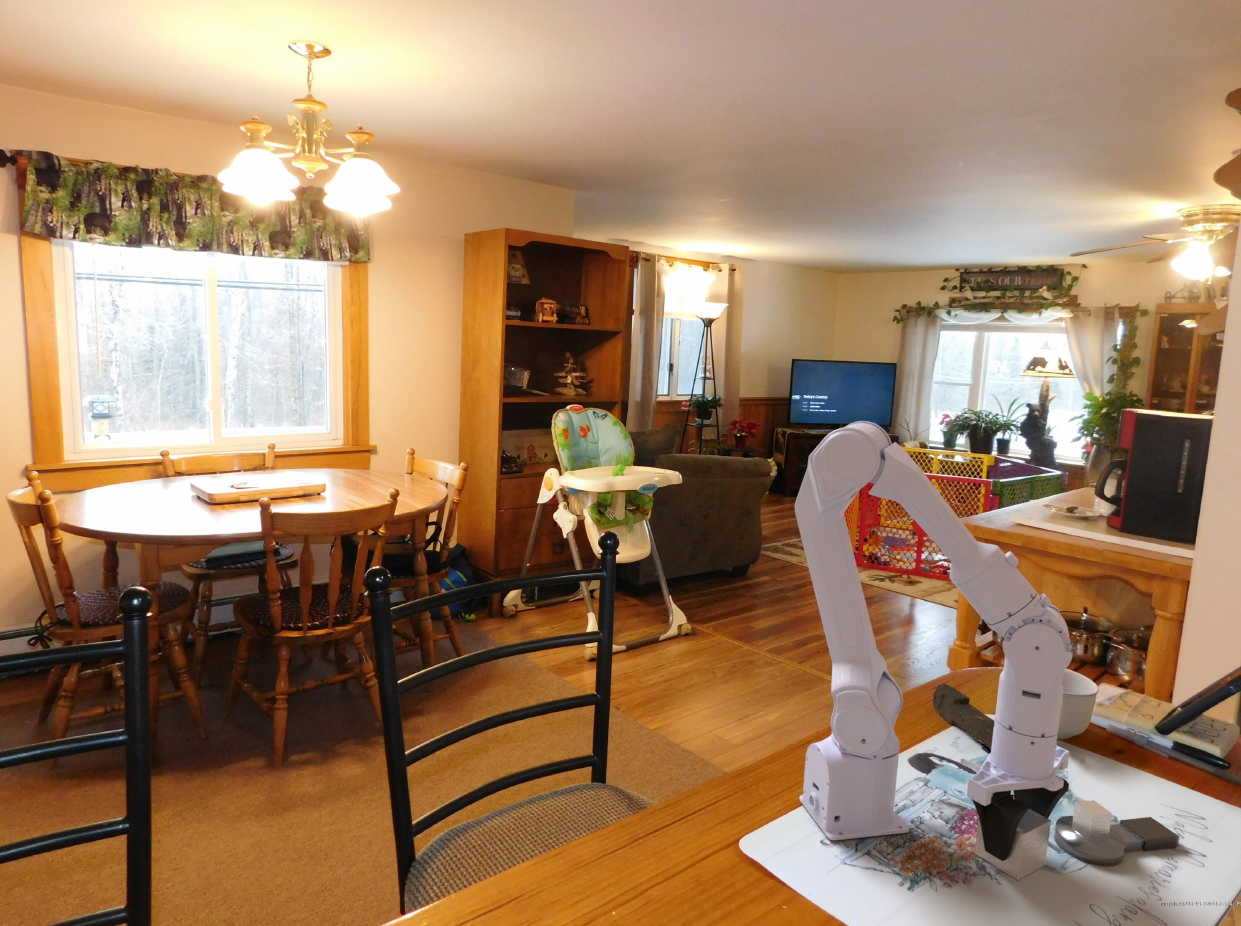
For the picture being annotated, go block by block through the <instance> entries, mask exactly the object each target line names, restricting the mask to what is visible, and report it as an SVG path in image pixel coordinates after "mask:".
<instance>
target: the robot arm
mask: <svg viewBox="0 0 1241 926" xmlns="http://www.w3.org/2000/svg"><path fill="white" fill-rule="evenodd" d="M869 483H871V484H873V486H872V488H871V489H870V490H869V491H868V495H871V496H873V497H877V498H881V499H885V500H888V501H894V502H895V503H896V502H897V503H898V504H899V505H901V507H902V508H903V509H904V510H905V511H906V512H907V514H908V515H909V516H910V517H911V518H912V520H914V521H915V522H916V524H917V525H919V527H920V528H921V529H922V530H923V531H924V532H925V534H926V535H928V537H929V538H930V539H931V540H932V541H933V542H934V544H935V545H936V546H937V547H938V548H939V549H940V550H941V551H942V552H943V554H944V555H945V556H946V557H947V559H949V560H950V563H951V564H950V570H949V580H951V582H952V583H953V584H954V586H955V587H956V589H958V591H959V592H960V594H962V595H963V597H964V598H965V600H966V601H967V602H968V603H969V604H970V605H971V607H973V609H974V610H975V611H976V612H977V614H978V615H979V616H980V617H981V619H982V620H983V621H984V623H985V624H986V625H987V626H988V627H989V628H990V630H992V631H994V632H996V633H998V634H999V635H1000V636H1001V637H1003V639H1004V640H1003V641H1002V651H1003V654H1004V664H1003V670H1002V671H1001V673H1000V675H999V678H998V681H999V682H998V688H997V698H996V706H995V707H996V708H995V714H994V715H995V716H994V721H995V722H994V730H993V738H992V747H991V749H990V753H989V754H988V755H987V757H986V758H985V760H984V762H983V763H982V764H981V766H980V768H979V769H978V771H977V773H975V774H974V775H973V776H970V777H969V778H968V782H967V791H966V792H967V793H966V797H968V798H969V799H971V801H972V802H973V803H972V804H973V805H974V808H975V810H976V813H977V816H978V819H979V820H980V825H981V830H982V836H983V842H984V847H985V851H986V852H988V853H989V854H991V855H993V856H994V857H996V858H998V859H999V860H1001V861H1004V860H1006V859H1007V857H1008V856H1009V853H1010V851H1011V847H1012V843H1013V839H1014V835H1015V832H1016V829H1017V827H1018V825H1019V823H1020V821H1021V819H1022V817H1023V816H1024V814H1025V813H1026V812H1027V811H1028V810H1029V809H1031V810H1032V811H1034V812H1036V813H1038V814H1040V815H1042V816H1044V817H1046V818H1047V819H1049V817H1050V815H1051V814H1052V812H1053V810H1054V809H1055V807H1056V805H1057V804H1058V802H1060V800H1061V799H1062V798H1063V797H1064V796H1065V794H1067V793H1068V791H1069V789H1070V782H1068V781H1067V780H1066V779H1064V778H1062V777H1061V776H1058V773H1059V772H1060V771H1064V770H1066V769H1068V766H1069V761H1070V760H1069V758H1070V751H1069V750H1068V749H1065V748H1063V747H1061V746H1059V745H1057V742H1058V739H1057V735H1058V729H1059V721H1060V714H1061V706H1062V698H1063V686H1062V681H1063V679H1064V674H1065V669H1068V666H1070V663H1071V662H1072V659H1073V655H1074V654H1073V652H1072V651H1071V650H1072V645H1071V639H1070V632H1069V628H1068V625H1067V622H1066V620H1065V619H1064V617H1063V616H1062V614H1061V610H1060V609H1059V608H1058V607H1057V606H1055V605H1054V604H1052V601H1051V599H1050V597H1048V596H1047V595H1046V594H1045V593H1042V594H1039V592H1037V590H1036V589H1035V588H1034V587H1033V586H1032V584H1031V583H1030V582H1029V581H1028V579H1026V577H1025V576H1024V575H1023V574H1022V573H1021V571H1020V570H1019V569H1018V568H1017V566H1019V559H1018V558H1017V557H1016V556H1015V553H1013V552H1012V551H1008V552H1006V553H1005V552H1004V551H1003V550H1002V549H1001V548H1000V546H999V545H997V544H991V543H986V542H982V541H978V540H976V537H974V535H973V534H972V533H971V531H970V530H969V529H968V527H967V526H966V525H965V524H964V523H963V521H962V520H961V519H960V517H959V516H958V514H956V512H955V510H953V508H952V507H951V506H950V505H949V503H948V502H947V501H946V500H945V498H944V497H943V496H942V494H941V493H940V492H939V490H938V489H937V488H936V487H935V485H934V484H933V483H932V482H931V480H930V479H929V477H927V475H926V474H925V473H924V471H923V470H922V468H921V467H920V466H919V465H918V464H917V463H916V462H915V460H914V459H913V458H912V457H911V456H910V455H909V453H908V452H907V451H906V450H905V449H904V448H903V447H902V446H901V445H900V444H899V443H897V442H896V441H894V442H893V443H892V441H891V438H890V435H889V434H888V433H887V431H886V430H885V429H884V428H882V427H881V426H880V425H878V424H877V423H875V422H871V421H866V420H859V421H855V422H851V423H849V424H847V425H846V426H844V427H840V428H838V429H835V430H832V431H831V432H829V433H828V434H827V435H826V436H824V438H822V440H821V441H820V443H819V444H818V445H816V447H815V448H814V449H813V451H812V452H811V453H810V454H809V455H808V461H807V468H806V471H805V474H804V477H803V479H802V482H801V485H800V488H799V491H798V494H797V496H796V500H795V503H794V514H795V518H796V521H797V525H798V530H799V534H800V538H801V542H802V547H803V550H804V553H805V558H806V562H807V566H808V570H809V574H810V579H811V582H812V587H813V591H814V595H815V597H816V602H817V603H816V604H817V607H818V611H819V615H820V619H821V622H822V627H823V632H824V634H825V638H826V644H827V647H828V651H829V655H830V658H831V663H832V664H831V665H832V666H831V685H830V686H831V687H830V688H831V691H830V693H831V696H832V701H833V711H832V714H831V717H830V728H831V734H830V735H829V736H828V737H826V738H824V739H823V740H820V741H817V742H813V743H811V744H809V745H808V747H807V749H806V752H805V762H804V775H803V786H802V788H803V789H802V794H801V795H800V796H799V801H800V803H801V804H802V805H803V807H804V808H805V809H806V810H807V812H808V814H809V815H810V816H811V817H812V819H813V820H814V821H815V822H816V824H817V826H818V827H819V828H820V829H821V831H822V832H823V834H824V835H825V836H826V838H828V840H830V841H841V840H842V841H843V840H849V839H858V838H859V839H860V838H868V837H878V836H886V835H896V834H906V833H909V831H910V827H909V825H908V824H907V823H906V822H905V821H904V820H903V819H902V818H901V817H900V816H899V815H898V814H897V812H896V811H895V799H896V790H897V779H898V767H899V755H900V748H901V747H900V745H901V744H900V743H901V742H900V739H899V738H898V736H897V733H896V732H895V729H894V727H895V724H896V721H897V719H898V716H899V715H900V712H901V710H902V708H903V704H904V703H903V702H904V697H903V691H902V690H901V687H900V685H899V683H897V681H896V680H895V679H894V678H893V677H892V675H891V674H890V672H889V670H888V667H887V663H886V660H885V658H884V656H883V655H882V654H881V653H880V651H879V650H878V647H877V644H876V643H877V642H876V639H875V634H874V631H873V627H872V623H871V619H870V614H869V611H868V606H867V603H866V598H865V595H864V590H863V587H862V583H861V578H860V574H859V569H858V566H857V562H856V558H855V553H854V549H853V547H852V545H853V544H852V542H851V537H850V533H849V529H848V525H847V520H846V516H845V511H847V509H848V507H849V506H850V505H851V503H852V502H853V500H854V499H855V498H856V497H857V495H858V493H859V492H860V490H861V489H862V488H864V487H865V486H866V485H867V484H869ZM1059 770H1060V771H1059ZM1012 791H1013V794H1012Z"/></svg>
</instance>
